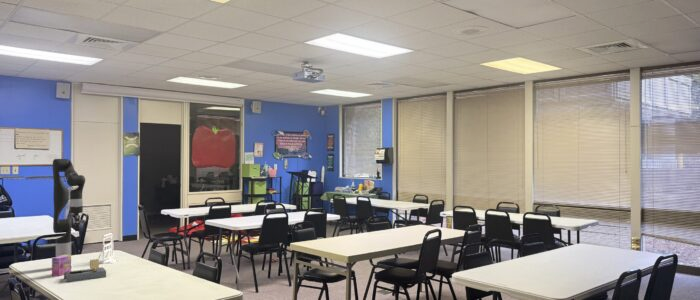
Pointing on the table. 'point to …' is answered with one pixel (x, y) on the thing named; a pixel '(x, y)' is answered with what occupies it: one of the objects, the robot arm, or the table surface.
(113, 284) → the table surface
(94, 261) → the brass peg
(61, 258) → the box
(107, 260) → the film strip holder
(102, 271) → the keyhole plate
